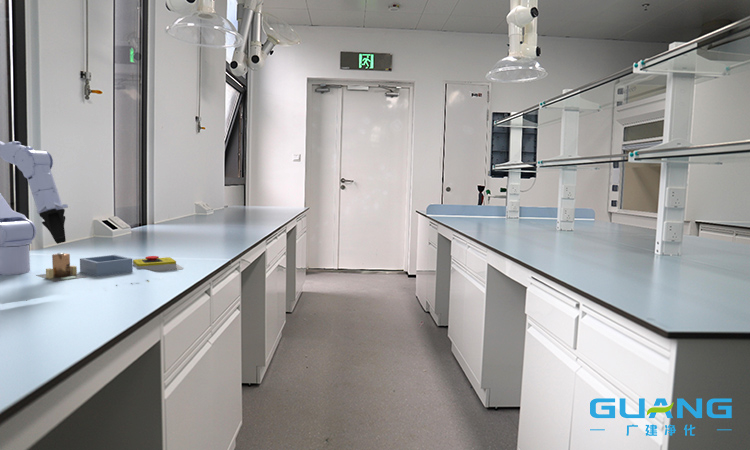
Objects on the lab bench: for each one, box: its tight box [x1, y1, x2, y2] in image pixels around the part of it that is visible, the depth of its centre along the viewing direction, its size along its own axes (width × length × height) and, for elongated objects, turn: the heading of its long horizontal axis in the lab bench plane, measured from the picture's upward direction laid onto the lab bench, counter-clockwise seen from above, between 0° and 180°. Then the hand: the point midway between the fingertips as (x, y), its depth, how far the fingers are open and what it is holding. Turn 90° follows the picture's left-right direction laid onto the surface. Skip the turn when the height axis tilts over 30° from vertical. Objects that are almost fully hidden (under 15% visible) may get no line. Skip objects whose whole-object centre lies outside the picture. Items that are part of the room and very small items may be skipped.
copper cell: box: [51, 252, 71, 278], centre depth 130 cm, size 4×4×6 cm
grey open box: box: [79, 254, 134, 277], centre depth 138 cm, size 10×10×5 cm
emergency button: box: [132, 255, 184, 273], centre depth 150 cm, size 9×4×15 cm
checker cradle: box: [35, 265, 87, 283], centre depth 130 cm, size 12×8×4 cm, turn 56°
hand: (60, 240), depth 127 cm, fingers open, 7 cm apart
